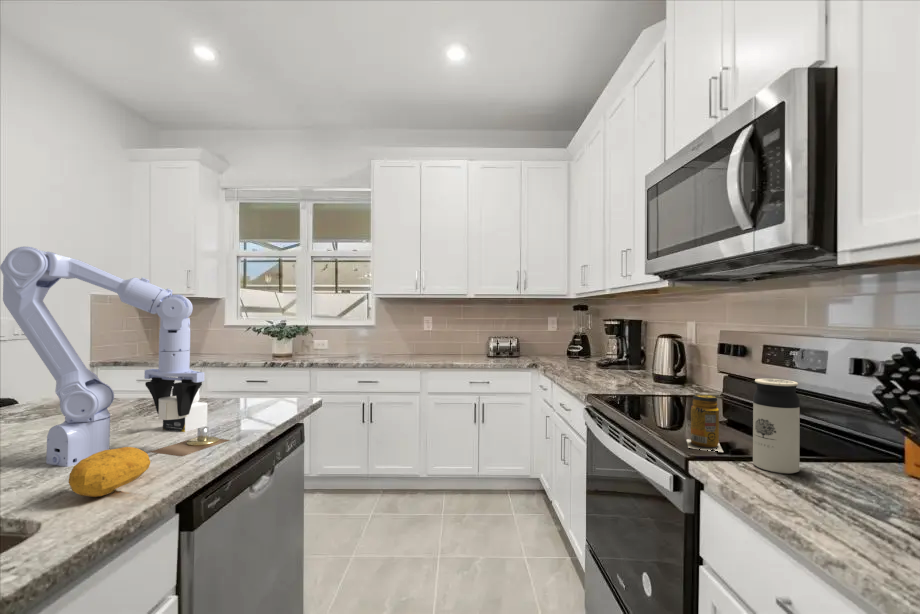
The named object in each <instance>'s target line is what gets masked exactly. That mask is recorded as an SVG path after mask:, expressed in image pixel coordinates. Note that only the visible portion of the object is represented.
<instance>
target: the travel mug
mask: <svg viewBox="0 0 920 614" xmlns="http://www.w3.org/2000/svg"><path fill="white" fill-rule="evenodd" d="M754 382H755V384H756V390H755V392H754V393H753V396H752V397H753V398H752V399H753V400H752V405H753V406H752V409H753V410H752V413H753V414H752V419H753V420H752V425H753V426H752V463H753V465H754V466H755V467H757V468H759V469H761V470H764V471H767V472H771V473H776V474H783V475H784V474H785V475H788V474H795V473H798V472H800V448H801V447H800V444H801V443H800V436H801V435H800V421H801V420H800V417H801V416H800V413H801V412H800V410H801V409H800V407H801V405H800V404H801V403H800V402H801V401H800V398H799V395H798V394H797V392H796V391H797V387H798V386H799V382H797V381H793V380H787V379H779V378H755V380H754Z"/></svg>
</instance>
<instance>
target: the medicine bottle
mask: <svg viewBox="0 0 920 614" xmlns="http://www.w3.org/2000/svg"><path fill="white" fill-rule="evenodd" d="M200 388H201V387H200ZM200 388H199V390H198V391H197V393H196V395H195V397H194V400H193V402H192V405H191V409H190V412H189V414H188V415H187V417H185V418H181V419H173V420H162V430H163V431H172V432H179V433H181V432H182V433H186V432H189V431H193V430H196V429H197V430H198V428H199V427H208V406H209V405H208V402H205V401H203V402H202V401H200ZM171 396H176V393H175V390H174V388H173V387H172V391H171Z"/></svg>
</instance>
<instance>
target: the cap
mask: <svg viewBox="0 0 920 614" xmlns="http://www.w3.org/2000/svg"><path fill="white" fill-rule="evenodd" d="M185 417H187V415H184V416H178V410H177V397H176V396H172V395H170V396H169V397H162V398H159V414H158V420H161V421H163V420H173V419H181V418H185Z"/></svg>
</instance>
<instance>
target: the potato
mask: <svg viewBox="0 0 920 614" xmlns="http://www.w3.org/2000/svg"><path fill="white" fill-rule="evenodd" d="M150 465H151V459H150V457H149V454H148V453H147V452H146V451H144V450H142V449H140V448H137V447H132V446H124V447H118V448H112V449H109V450H104V451H101V452H98V453H95V454H93V455H91V456H89V457H87V458H85V459H82V460H81V461H80V462H79V463H78V464H76V465H73V466H72V467H73V468H72V469H71V471H70V473H69V477H68V484H69V486H70V489H71V491H72V492H74V493H75V494H77V495H79V496H82V497H85V496H86V497H92V498H98V497H103V496H105V495H109V494H111V493H113V492H115V491H116V490H117V489H118V488H120V487H123V486H125V485H127V484H130V483H131V482H133V481H135V480H137V479H138V478H139V477H140V476H142V475H143V474H144V473H145V472H146V471H147V470H148V469H149V468H150Z"/></svg>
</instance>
